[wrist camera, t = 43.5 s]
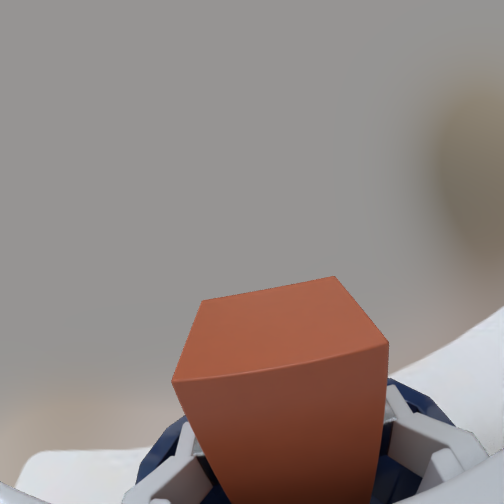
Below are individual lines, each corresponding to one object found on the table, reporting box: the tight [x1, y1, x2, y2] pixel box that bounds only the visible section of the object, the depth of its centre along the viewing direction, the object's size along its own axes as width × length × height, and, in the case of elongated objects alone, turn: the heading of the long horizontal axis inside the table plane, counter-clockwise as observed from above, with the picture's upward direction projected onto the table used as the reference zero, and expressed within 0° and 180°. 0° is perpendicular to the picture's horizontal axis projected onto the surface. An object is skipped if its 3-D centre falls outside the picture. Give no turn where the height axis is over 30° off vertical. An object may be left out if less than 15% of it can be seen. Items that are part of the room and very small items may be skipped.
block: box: [171, 276, 389, 504], centre depth 8 cm, size 4×4×10 cm
